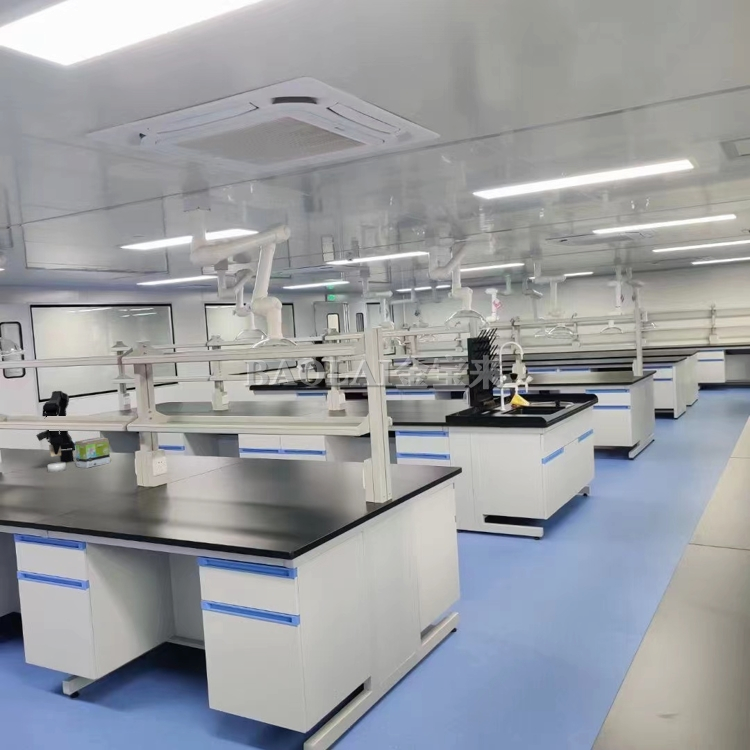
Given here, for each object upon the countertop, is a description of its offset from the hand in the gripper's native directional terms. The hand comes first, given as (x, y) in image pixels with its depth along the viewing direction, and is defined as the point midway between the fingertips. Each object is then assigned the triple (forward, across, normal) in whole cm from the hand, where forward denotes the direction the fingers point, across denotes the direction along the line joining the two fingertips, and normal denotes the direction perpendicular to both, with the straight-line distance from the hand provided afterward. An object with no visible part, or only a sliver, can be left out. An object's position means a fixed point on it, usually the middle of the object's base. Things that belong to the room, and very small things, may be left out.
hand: (55, 453), depth 366 cm
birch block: (+1, 0, 0) cm, 1 cm away
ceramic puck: (+10, 0, 0) cm, 10 cm away
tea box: (+10, 0, +19) cm, 21 cm away
